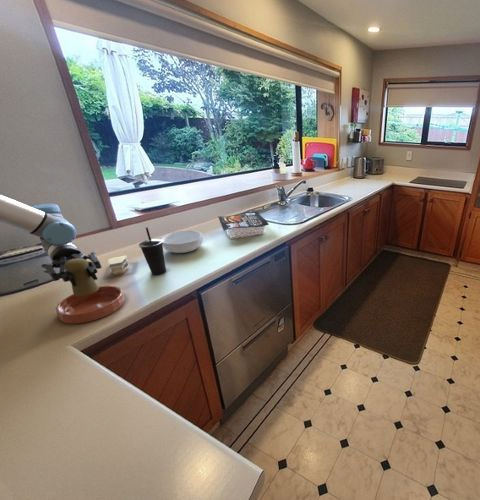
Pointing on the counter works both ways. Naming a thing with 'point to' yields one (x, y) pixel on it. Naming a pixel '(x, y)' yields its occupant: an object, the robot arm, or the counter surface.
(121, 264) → the sandwich
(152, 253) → the drinking cup
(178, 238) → the cereal bowl
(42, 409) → the counter surface
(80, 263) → the cork
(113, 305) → the dish
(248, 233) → the food packaging
